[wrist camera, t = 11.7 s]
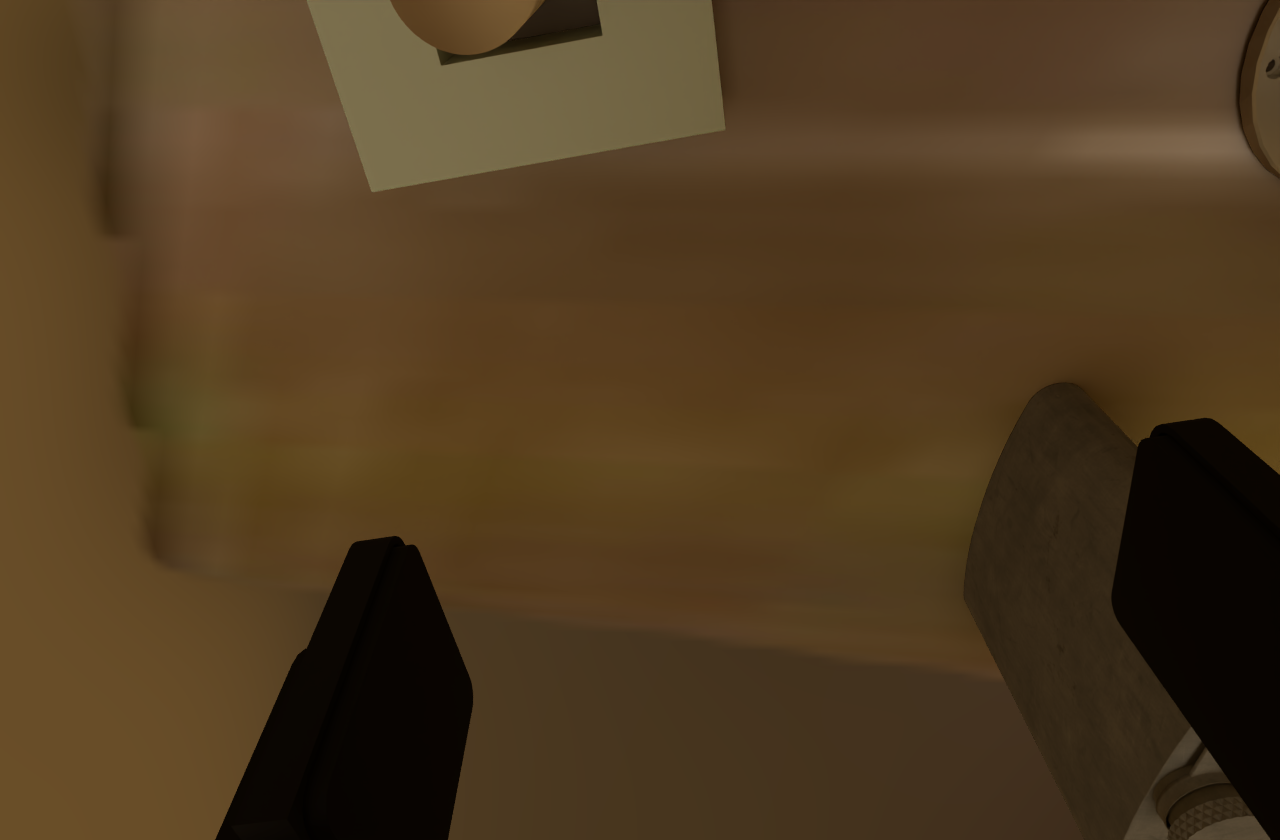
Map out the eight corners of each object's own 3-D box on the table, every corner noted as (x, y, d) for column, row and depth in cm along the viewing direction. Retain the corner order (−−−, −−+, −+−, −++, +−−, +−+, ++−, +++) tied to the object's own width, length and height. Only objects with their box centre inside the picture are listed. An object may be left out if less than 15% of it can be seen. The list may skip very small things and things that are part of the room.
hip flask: (1008, 610, 51) (1205, 964, 34) (943, 609, 50) (1108, 964, 33) (1095, 383, 42) (1414, 700, 25) (1017, 381, 42) (1285, 698, 25)
